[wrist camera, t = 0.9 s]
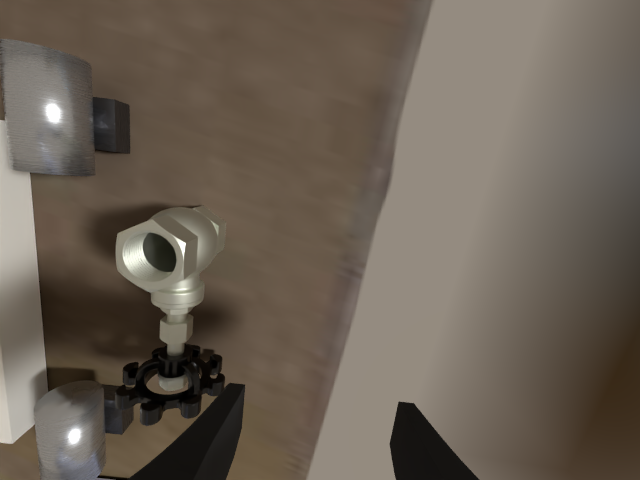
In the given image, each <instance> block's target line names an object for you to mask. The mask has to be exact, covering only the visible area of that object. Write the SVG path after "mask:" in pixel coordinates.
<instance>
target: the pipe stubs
mask: <svg viewBox="0 0 640 480" xmlns="http://www.w3.org/2000/svg"><path fill="white" fill-rule="evenodd" d="M0 73H1V83H2V93H3V104H4V114H5V124H6V134H7V144H8V155H9V165H10V169H11V170H16V171H23V172H32V173H42V174H54V175H70V176H95V149H97V150H105V151H113V152H121V153H130V119H129V105H128V104H125V103H122V102H119V101H117V100H113V99H105V98H97V97H93V95H92V69H91V65H90V64H89V63H88V62H86V61H84V60H82V59H80V58H78V57H75V56H73V55H70V54H67V53H64V52H61V51H58V50H55V49H52V48H48V47H45V46H41V45H37V44H32V43H28V42H23V41H17V40H10V39H0ZM118 388H119V386H110V385H101V384H100V383H98V382H96V381H91V380H82V381H75V382H71V383H67V384H64V385H62V386H59V387H57V388H55V389H53V390H51V391H49V392H48V393H46V394H45V395H44V396H43V397H41V398H40V399H39V400H38V402H37V403H36V405H35V406H34V420H35V430H36V440H37V450H38V461H39V471H40V480H94V479H95V478H96V477H97V476H98V475H99V474H100V473H101V471H102V470H103V468H104V466H105V463H106V440H105V433H112V434H123V433H124V432H125V430H126V429H127V428H128V426H129V425H130V424H131V422H132V421H133V407H131V408H129V409H127V410H119V409H117V408H116V407H115V391H116V390H117V389H118ZM130 389H132V388H128V387H126V390H130Z"/></svg>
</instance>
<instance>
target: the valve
mask: <svg viewBox="0 0 640 480" xmlns="http://www.w3.org/2000/svg"><path fill="white" fill-rule="evenodd" d="M225 234H226V222H225V221H224V220H223V219H221V218H220V217H219V216H217V215H216V214H215V213H213V212H212V211H211V210H209V209H208V208H207V207H205V206H204V205H203V206H199V207H195V208H192V209H190V208H186V207H174V208H168V209H165V210H162V211H160V212H158V213H157V214H155V215H153V216H152V217H151V218H150V219H149V220H148V221H146V222H143V223H141V224H138V225H136V226H134V227H131V228H129V229H126V230H124V231H122V232H119V233H118V234H117V240H116V265H117V270H118V271H119V272H120V273H121V274H122V275H123V276H124V277H125V278H127V279H128V280H129V281H131V282H132V283H133V284H135V285H137V286H138V287H140V288H142V289H144V290H146V291H148V292H150V293H151V302H152V303H153V305H155V306H157V307H160V308H161V310H162V311H163V312H165V313H166V315H165V316H164V317H163V318H162V319H161V320H160V339H161V340H162V341H163V342H165V343H167V344H168V345H167V346H165V347H161V348H157V349H155V350H154V351H153V352H152V359H150V360H148V361H146V362H144V363H143V364H142V365H141V366H140V367H139V368H138V364H139V363H138V362H133V363H129V364H127V365H126V366H125V367H124V368H123V383H124V385H122V386H120V387H119V388H118V389H117V390H116V391H115V407H116V408H117V409H119V410H127V409H129V408H131V407H133V406H134V405H135V404H137V403H141V406H140V422H141V423H142V424H143V425H146V426H149V425H153V424H155V423H157V422H158V421H160V419H161V418H162V414H163V412H164V411H165V410H167V409H172V408H179V409H180V410H181V415H182V416H183V417H184V418H188V419H189V418H194V417H196V416H197V415H198V414H199V413H200V411H201V400H202V396H201V395H202V394H205V393H207V394H208V395H210V396H218V395H219V394H220V393H221V392H222V391H223V389H224V384H225V376H224V375H223V374H221V373H220V372H221V370H222V357H221V356H220V355H217V354H213V355H211V356H210V361H208V362H206V363H205V362H204V361H203V360H201V359H200V347H199V346H196V345H190V344H185V342H186V341H188V340H189V338H190V337H191V335H192V334H193V317H194V316H192V315H190V314H188V312H190V311H191V310H192V309H193V307H194V306H196V305H198V304H200V303H201V302H202V301H203V299H204V288H205V284H204V282H203V281H202V280H200V279H199V278H200V272H201V271H203V270H204V269H205V268H206V267H208V266H209V264H210V263H211V262H212V261H213V259H214V257H215V255H217V254H218V253H219V252H221V251H222V250H223V249H224V246H225ZM157 373H158V376H159V385H160V386H161V387H162V388H163V389H164V390H166V391H174V390H178V389H181V388H183V387H184V386H185V385H186V383H187V381H188V382H189V384H188V390H186V391H184V392H181V393H177V394H171V395H162V394H157V393H154V392H152V391H150V390H149V389H148V388H147V386H146V384H147V382H148V381H149V380H150V379H151V378H152V377H153V376H154V375H156V374H157ZM198 373H199V374H200V376H201V379H200V377H199V374H198ZM216 374H218V375H217V378H215V379H213V378H211V377H210V375H216ZM125 385H135V387H134V388H132V389H130V390H126V386H125Z"/></svg>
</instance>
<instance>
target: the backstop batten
mask: <svg viewBox="0 0 640 480" xmlns="http://www.w3.org/2000/svg"><path fill="white" fill-rule="evenodd" d="M46 393H48V382H47V370H46V359H45V347H44V335H43V323H42V311H41V299H40V287H39V275H38V264H37V252H36V240H35V228H34V216H33V204H32V192H31V180H30V172H23V171H16V170H11V169H10V165H9V155H8V144H7V134H6V124H5V121H3V120H0V443H10V444H13V443H14V442H15V441H16V440H17V439H18V438H19V437H21V436H22V435H23V434H24V433H25V432H26V431H27V430H29V429H30V428H31V427H32V426H33V425H34V424H35V420H34V406H35V405H36V403H37V402H38V400H39V399H40V398H41V397H43V396H44V395H45V394H46Z"/></svg>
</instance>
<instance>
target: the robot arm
mask: <svg viewBox="0 0 640 480" xmlns="http://www.w3.org/2000/svg"><path fill="white" fill-rule="evenodd" d="M244 393H245V385H243V384H234V383H229V384H228V385H227V386H226V387H225V388H224V389H223V391H222V392H221V393H220V394H219V395H218V397H217V398H216V399H215V400H214V401H213V402H212V403H211V405H210V406H209V407H208V408H207V409H206V410H205V411H204V412H203V413H202V414H201V415H200V416H199V417H198V418H197V420H196V421H195V422H194V423H193V424H192V425H191V426H190V427H189V428H188V429H187V430H185V431H184V432H183V433H182V434H181V435H180V436H179V437H178V438H177V439H176V440H175V441H174V442H173V443H172V444H171V445H170V446H168V447H167V448H166V449H165V450H164V451H163V452H162V453H160V454H159V455H158V456H157V457H156V458H154V459H153V460H152V461H151V462H150V463H148V464H147V465H146V466H145V467H143V468H142V469H141V470H139V471H138V472H137V473H135V474H134V475H133V476H131V477H130V478H129V479H128V480H226V477H227V475H228V472H229V469H230V467H231V464H232V461H233V458H234V455H235V451H236V448H237V444H238V440H239V436H240V432H241V429H242V417H243V405H244ZM390 448H391V455H392V461H393V467H394V473H395V477H396V480H479V479H478V478H477V477H476V476H475V475H474V474H473V473H472V471H471V470H470V469H469V468H468V467H467V466H466V465H465V464H464V463H463V462H462V461H461V460H460V459H459V457H458V456H457V455H456V454H455V453H454V452H453V451H452V449H451V448H450V447H449V446H448V445H447V444H446V442H445V441H444V440H443V439H442V438H441V436H440V435H439V434H438V433H437V432H436V430H435V429H434V428H433V427H432V425H431V424H430V423H429V422H428V420H427V419H426V418H425V417H424V415H423V414H422V413H421V412H420V410H419V409H418V408H417V407H416V406H415V404H414V403H406V402H399V403H398V407H397V412H396V417H395V422H394V426H393V432H392V436H391V440H390ZM94 480H114V479H104V478H95V479H94Z"/></svg>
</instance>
